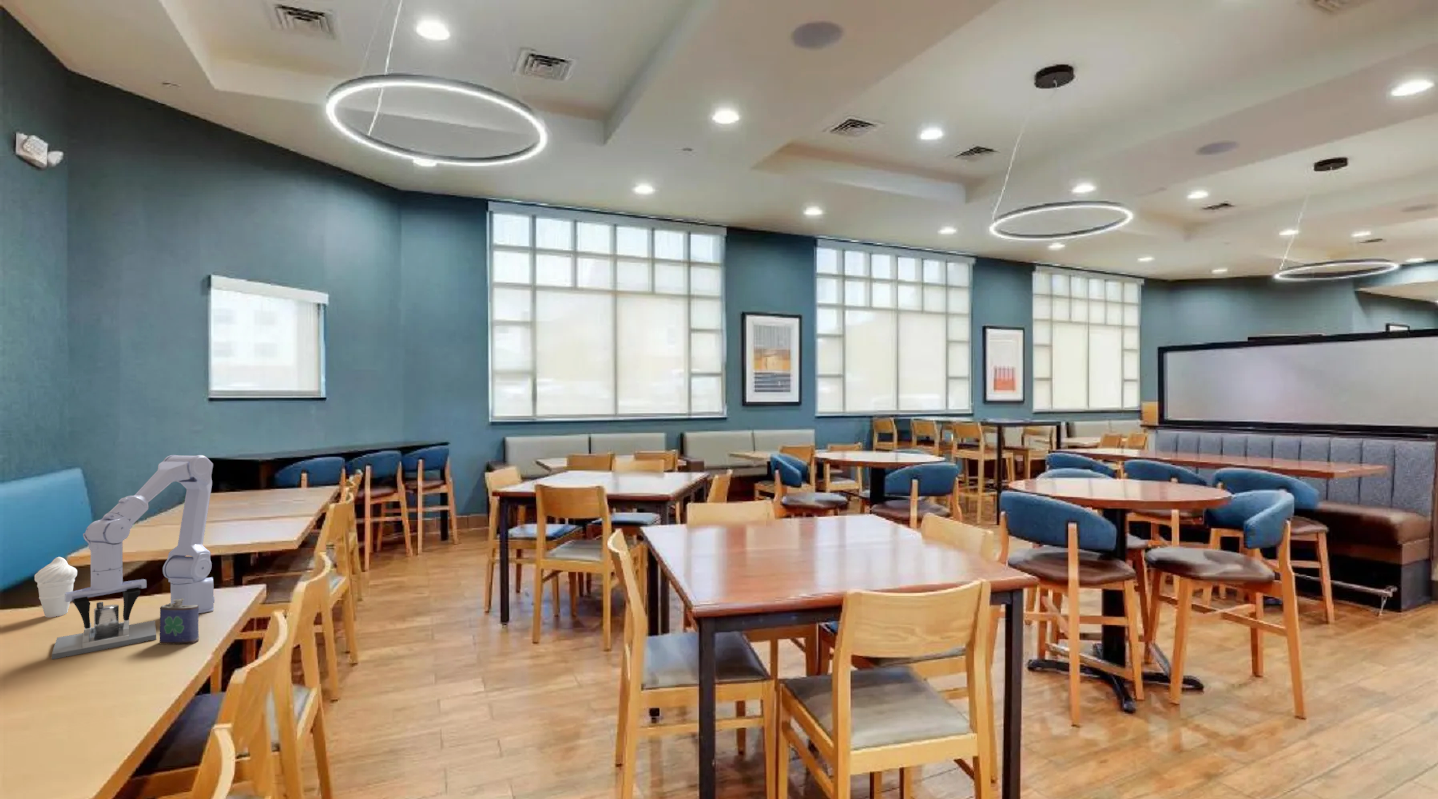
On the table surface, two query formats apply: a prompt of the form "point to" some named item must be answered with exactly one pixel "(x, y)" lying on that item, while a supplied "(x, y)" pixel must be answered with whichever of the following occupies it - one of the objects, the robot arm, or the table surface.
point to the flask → (179, 623)
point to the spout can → (106, 621)
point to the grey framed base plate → (89, 643)
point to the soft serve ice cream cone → (55, 586)
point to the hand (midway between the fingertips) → (106, 623)
